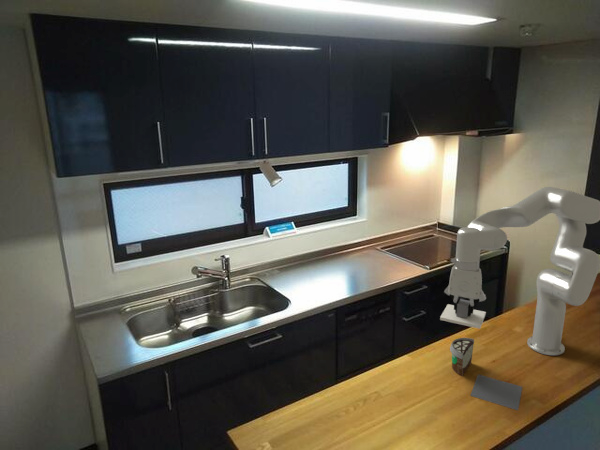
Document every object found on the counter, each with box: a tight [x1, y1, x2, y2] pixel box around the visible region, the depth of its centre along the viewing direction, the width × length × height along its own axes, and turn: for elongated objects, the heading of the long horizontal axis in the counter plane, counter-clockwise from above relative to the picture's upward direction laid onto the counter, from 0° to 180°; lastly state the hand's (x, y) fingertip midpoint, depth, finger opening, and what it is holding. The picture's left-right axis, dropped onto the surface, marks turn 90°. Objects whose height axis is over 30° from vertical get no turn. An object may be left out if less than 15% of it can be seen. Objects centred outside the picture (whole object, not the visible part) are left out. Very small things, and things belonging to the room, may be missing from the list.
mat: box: [470, 374, 523, 411], centre depth 140 cm, size 13×14×1 cm
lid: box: [439, 298, 487, 329], centre depth 147 cm, size 11×13×6 cm
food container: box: [449, 337, 475, 377], centre depth 152 cm, size 12×6×10 cm, turn 141°
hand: (463, 312), depth 147 cm, fingers closed on lid, 3 cm apart
